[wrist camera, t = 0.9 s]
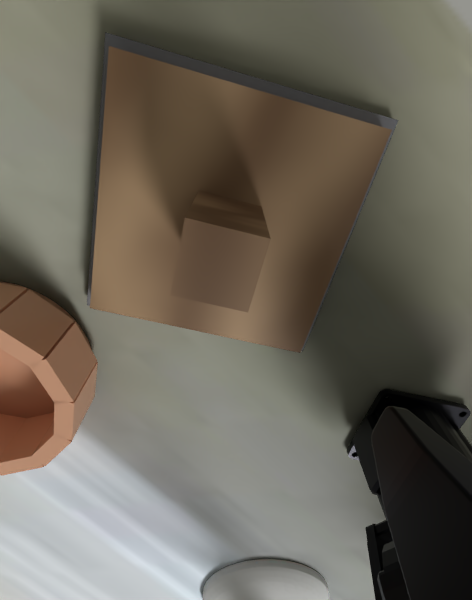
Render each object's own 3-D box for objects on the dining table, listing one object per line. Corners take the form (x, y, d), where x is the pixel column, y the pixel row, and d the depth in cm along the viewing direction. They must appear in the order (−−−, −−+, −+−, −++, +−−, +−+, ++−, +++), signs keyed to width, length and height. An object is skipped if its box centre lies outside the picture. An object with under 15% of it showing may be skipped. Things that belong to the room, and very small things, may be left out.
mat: (392, 120, 16) (398, 120, 16) (301, 345, 22) (302, 351, 22) (110, 35, 15) (105, 32, 14) (90, 300, 21) (87, 305, 20)
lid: (383, 129, 16) (457, 134, 11) (297, 343, 21) (318, 418, 16) (116, 50, 15) (48, 11, 9) (96, 299, 20) (45, 365, 15)
